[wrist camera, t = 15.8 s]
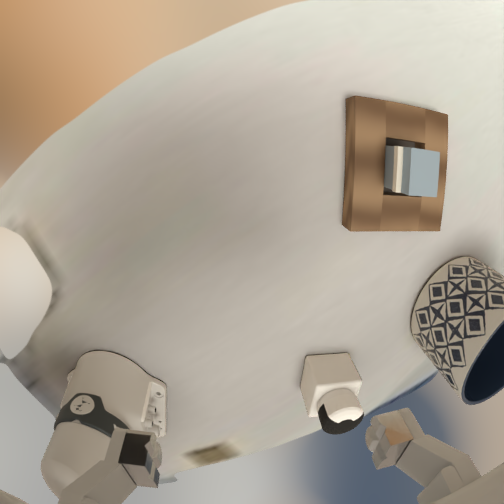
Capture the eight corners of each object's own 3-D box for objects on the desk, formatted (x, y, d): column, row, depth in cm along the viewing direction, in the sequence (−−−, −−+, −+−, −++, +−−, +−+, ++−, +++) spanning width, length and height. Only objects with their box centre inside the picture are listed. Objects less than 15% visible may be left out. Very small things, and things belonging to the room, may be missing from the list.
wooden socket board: (428, 225, 38) (439, 231, 36) (342, 224, 38) (350, 231, 35) (435, 115, 33) (447, 114, 30) (345, 98, 32) (355, 95, 29)
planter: (432, 361, 48) (475, 417, 33) (391, 314, 43) (445, 382, 28) (493, 294, 45) (546, 336, 29) (465, 232, 40) (537, 272, 24)
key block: (403, 148, 34) (439, 152, 26) (401, 185, 36) (436, 197, 28) (372, 144, 34) (405, 146, 26) (370, 183, 35) (403, 195, 28)
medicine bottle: (339, 383, 47) (361, 435, 36) (299, 386, 47) (314, 442, 35) (348, 351, 45) (375, 404, 34) (305, 354, 44) (325, 412, 33)
